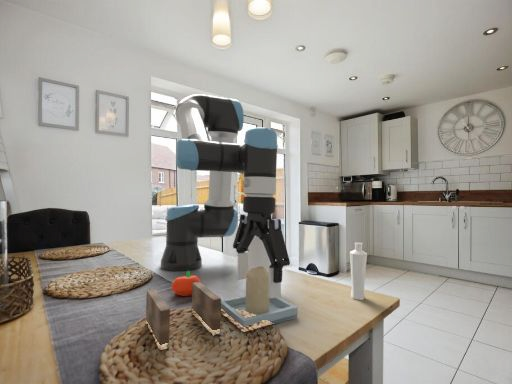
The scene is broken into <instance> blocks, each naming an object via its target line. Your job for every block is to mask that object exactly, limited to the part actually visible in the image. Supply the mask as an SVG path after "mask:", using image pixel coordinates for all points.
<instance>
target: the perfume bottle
mask: <svg viewBox="0 0 512 384" xmlns="http://www.w3.org/2000/svg"><path fill="white" fill-rule="evenodd" d="M363 244H364V243H363V242H354V249H353V250H349V262H350V266H349V267H350V280H351V281H350V283H351V286H350V287H351V292H350V295H349V296H350V297H351V299H354V300H358V301H363V300H365V298H366V295H365V281H366V271H367V270H366V269H367V261H368V260H367V259H368V252H365V251H364V250H363Z"/></svg>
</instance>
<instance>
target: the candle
mask: <svg viewBox="0 0 512 384" xmlns="http://www.w3.org/2000/svg"><path fill="white" fill-rule="evenodd" d="M268 285H269V272H268V271H267V270H266V269H265V268H264V267H263V266H260V267H257V268H252V269H251V270H249V271H248V272H247V273H246V279H245V295H246V305H245V310H246V311H247V312H249V313H253V314H257V315H260V314H263V313H267V312H269V298H268Z"/></svg>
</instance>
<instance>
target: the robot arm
mask: <svg viewBox="0 0 512 384" xmlns="http://www.w3.org/2000/svg"><path fill="white" fill-rule="evenodd" d="M177 104H178V105H177V106H176V109H175V119H176V122H177V123H178V125H179V127H180V132H181V133H180V134H181V138H180V139H178V140H177V142H176V146H175V148H176V149H175V165H176V167H177V168H178V169H180V170H189V171H193V172H194V171H206V172H209V180H208V182H209V183H208V199H206V200H205V202H204V203H203V207H200V206H199V204H198V203H194V204H193V203H192V204H191V203H190V204H183V205H174V206H171V207H169V208H168V209H167V212H166V219H165V221H166V235H165V236H166V239H165V241H166V242H165V243H166V244H165V248H164V251H163V254H162V256H161V259H160V268H161V269H162V270H165V271H173V272H177V271H179V272H181V271H182V272H183V271H190V270H195V269H198V268H200V267H202V265H203V264H202V263H203V261H202V260H203V259H202V255H201V252H200V250H199V249H200V248H199V245H198V242H199V241H198V239H200V238H226V237H227V238H229V237H231V236H233V235H234V233H235V232H236V233H235V237H234V241H233V243H232V247H233V249H235V252H236V253H237V264H236V265H237V267H236V270H237V272H236V273H237V275H236V279H237V280H246V273H247V272H248V251H249V250H248V247H249V245H250V243H251V242H252V240H253V238H254V236H257V237H259V239H260V240H262V242H263V244H264V247H265V249H266V252H267V254H268V257H269V260H270V262H271V265H270V266H269V285H268V298H275V297H281V295H282V294H281V290H282V289H281V287H282V282H283V267H286V266H290V264H291V261H290V258H289V257H290V256H289V253H288V250H287V246H286V242H285V239H284V238H285V237H284V235H283V231H282V221H281V219H280V218H273V219H272V214H275V212H276V198H275V197H274V196H275V195H276V194H277V163H278V162H277V159H278V158H277V157H278V148H279V147H278V135H277V132H276V131H275V130H274V129H271V128H267V127H253V128H248V129H247V130H246V131H245V134H244V135H245V136H244V140H243V143H234V140H235V138H237V137H238V134H239V132H240V131H242V130H243V127H244V121H245V118H244V117H245V116H244V109H243V106H242V105H243V104H242V103H241V102H240V101H239V100H238V99H234V98H230V97H225V96H224V97H222V96H215V95H209V94H207V95H206V94H202V93H201V94H199V93H198V94H192V95H188V96H187V97H184V98H182V100H181V101H179V103H177ZM233 173H237V174H238V173H239V174H243V177H244V179H243V181H242V182H243V194H244V195H245V196H244V197H243V198H242V199H243V200H242V211H243V212H244V214H240V215H239V216H238V214H239V212H238V209H237V208H236V207H234V205H235V204H234V203H233V202H232V200H231V190H232V174H233ZM238 221H239V223H238ZM236 229H237V230H236ZM267 233H268V234H267Z"/></svg>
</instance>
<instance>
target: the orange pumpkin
mask: <svg viewBox="0 0 512 384" xmlns="http://www.w3.org/2000/svg"><path fill="white" fill-rule="evenodd" d="M194 282H200V283H201V284H202V281H201V279H200V277H198V276H197V275H193V274H191V271H190V270H186V275H183V276H179V277H176V278H175V279H174V280H173V282H172V283H171V290H172V292H173V293H175V294H176V295H177V296H181V297H190V296H192V283H194Z"/></svg>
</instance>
